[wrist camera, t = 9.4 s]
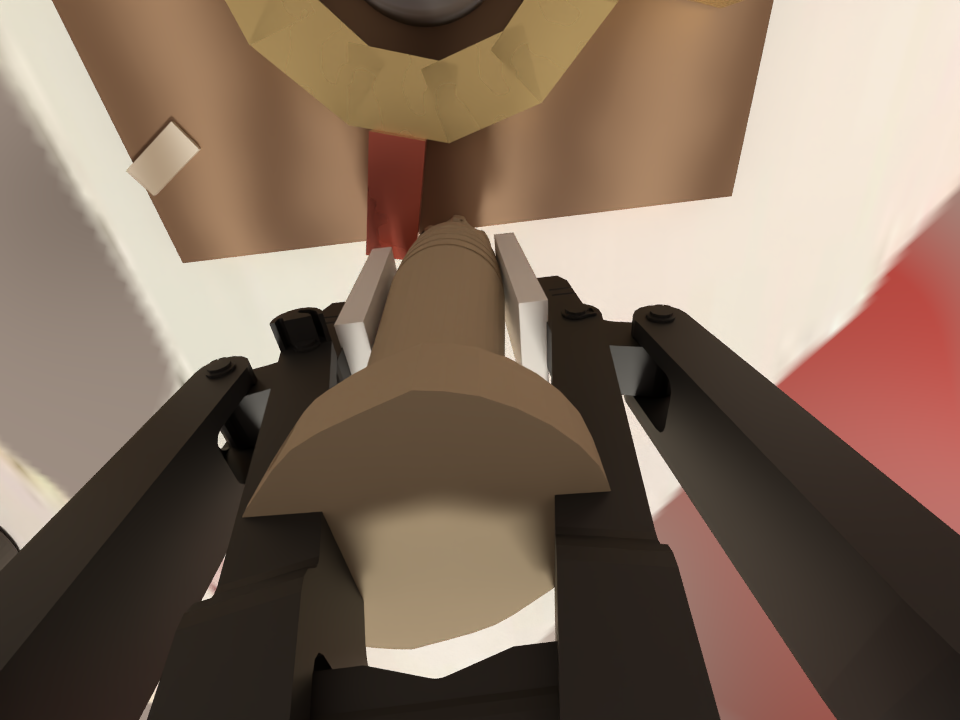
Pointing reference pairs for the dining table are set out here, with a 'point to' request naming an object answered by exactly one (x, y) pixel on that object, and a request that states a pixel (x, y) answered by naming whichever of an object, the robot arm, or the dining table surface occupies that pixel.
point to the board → (448, 166)
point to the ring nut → (419, 87)
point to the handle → (438, 455)
